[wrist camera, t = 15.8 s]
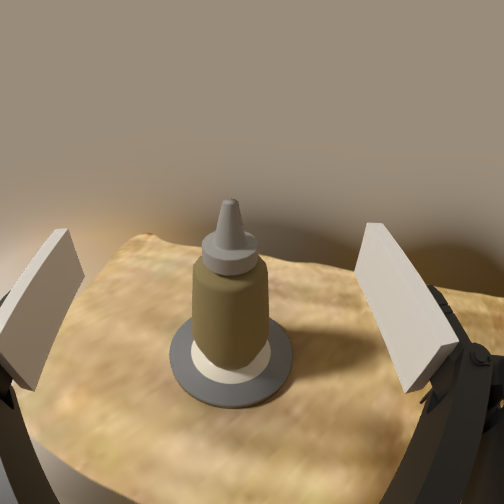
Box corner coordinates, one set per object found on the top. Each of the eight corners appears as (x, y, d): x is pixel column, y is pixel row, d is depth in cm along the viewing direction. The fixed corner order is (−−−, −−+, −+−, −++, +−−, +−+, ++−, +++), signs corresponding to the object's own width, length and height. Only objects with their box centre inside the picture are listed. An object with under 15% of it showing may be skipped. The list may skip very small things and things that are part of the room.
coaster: (311, 388, 30) (312, 383, 29) (182, 420, 26) (181, 416, 25) (267, 303, 41) (267, 297, 40) (164, 322, 37) (162, 316, 36)
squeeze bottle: (181, 342, 33) (159, 198, 23) (237, 313, 37) (240, 175, 27) (222, 392, 28) (215, 244, 18) (281, 354, 32) (307, 208, 22)
